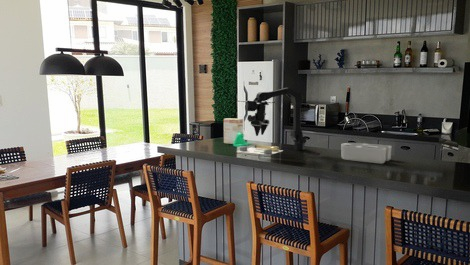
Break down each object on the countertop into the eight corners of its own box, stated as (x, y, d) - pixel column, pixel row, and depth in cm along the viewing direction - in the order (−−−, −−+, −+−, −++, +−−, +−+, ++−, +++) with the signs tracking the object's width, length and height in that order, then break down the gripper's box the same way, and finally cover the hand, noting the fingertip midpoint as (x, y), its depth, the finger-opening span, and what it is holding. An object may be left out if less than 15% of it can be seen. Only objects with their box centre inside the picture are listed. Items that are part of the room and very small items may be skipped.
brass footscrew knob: (280, 150, 273) (280, 146, 273) (276, 151, 268) (276, 147, 268) (256, 148, 283) (256, 143, 283) (252, 149, 278) (252, 145, 278)
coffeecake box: (243, 143, 315) (243, 118, 312) (237, 145, 310) (237, 119, 307) (229, 142, 325) (229, 117, 323) (223, 143, 320) (223, 118, 317)
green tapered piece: (241, 148, 294) (240, 134, 293) (233, 147, 299) (233, 133, 298) (251, 146, 303) (251, 132, 301) (243, 145, 308) (243, 132, 307)
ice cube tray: (382, 164, 233) (383, 149, 232) (336, 159, 250) (336, 145, 249) (391, 159, 246) (391, 145, 245) (346, 155, 263) (347, 142, 262)
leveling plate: (283, 152, 273) (283, 146, 272) (269, 157, 257) (269, 150, 257) (250, 149, 287) (250, 143, 287) (235, 153, 272) (235, 147, 271)
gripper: (254, 110, 277) (253, 133, 279) (243, 111, 260) (242, 135, 262) (270, 111, 272) (268, 134, 274) (260, 112, 255) (258, 136, 257)
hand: (259, 135), depth 267 cm, fingers open, 9 cm apart
